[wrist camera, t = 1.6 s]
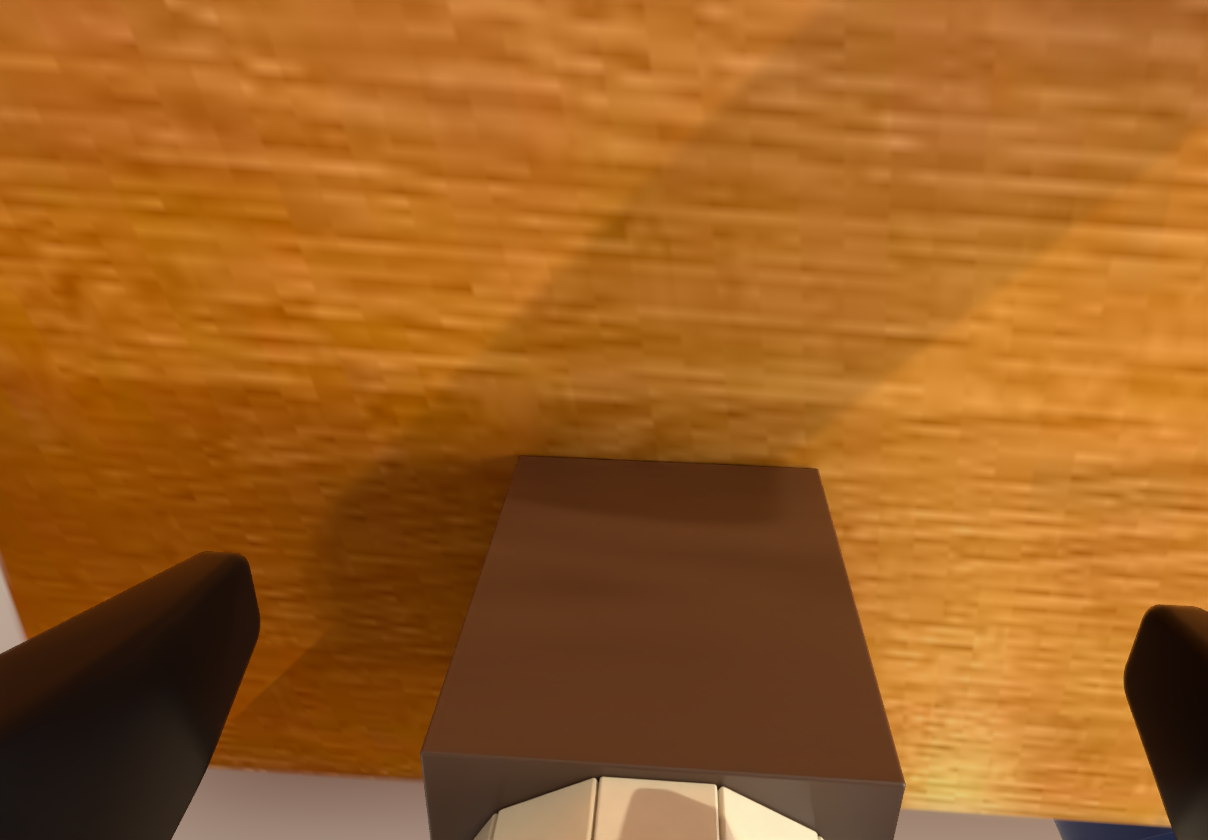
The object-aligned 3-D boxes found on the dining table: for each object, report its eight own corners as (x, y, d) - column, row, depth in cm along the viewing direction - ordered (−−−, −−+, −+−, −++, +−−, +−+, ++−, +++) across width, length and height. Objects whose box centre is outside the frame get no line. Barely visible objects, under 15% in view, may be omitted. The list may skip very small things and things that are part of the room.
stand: (788, 695, 24) (843, 1065, 16) (527, 679, 24) (452, 1031, 16) (818, 467, 21) (907, 784, 12) (518, 454, 21) (418, 752, 13)
